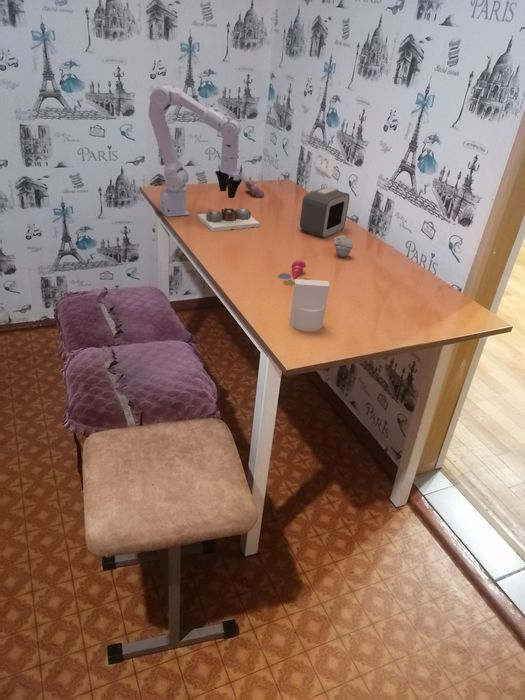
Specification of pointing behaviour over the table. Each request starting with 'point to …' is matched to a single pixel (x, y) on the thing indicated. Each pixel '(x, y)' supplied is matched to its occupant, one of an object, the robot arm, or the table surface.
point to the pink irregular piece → (254, 188)
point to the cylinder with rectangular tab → (309, 304)
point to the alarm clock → (324, 211)
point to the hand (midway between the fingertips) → (227, 194)
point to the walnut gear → (229, 214)
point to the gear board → (217, 224)
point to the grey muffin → (342, 245)
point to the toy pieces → (294, 272)
